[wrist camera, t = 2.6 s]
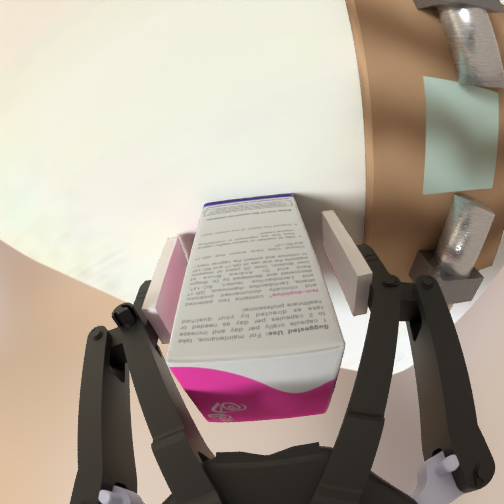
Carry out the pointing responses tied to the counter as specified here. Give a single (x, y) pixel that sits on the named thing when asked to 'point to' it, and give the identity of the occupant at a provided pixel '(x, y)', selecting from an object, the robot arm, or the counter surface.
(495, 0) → the grey collared shaft
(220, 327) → the supplement box
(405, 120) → the board
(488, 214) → the shaft
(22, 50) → the counter surface
